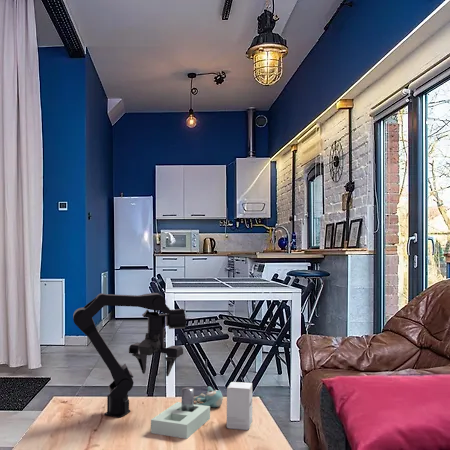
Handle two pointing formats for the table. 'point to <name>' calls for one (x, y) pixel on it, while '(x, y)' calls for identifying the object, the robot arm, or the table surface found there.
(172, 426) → the socket board
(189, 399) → the steel pin
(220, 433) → the table surface
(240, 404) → the supplement box
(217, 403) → the stuffed animal
